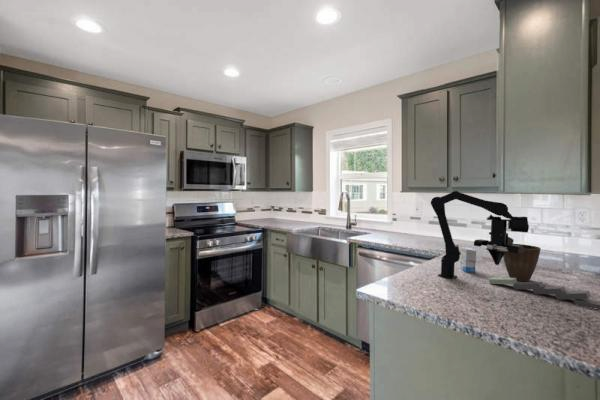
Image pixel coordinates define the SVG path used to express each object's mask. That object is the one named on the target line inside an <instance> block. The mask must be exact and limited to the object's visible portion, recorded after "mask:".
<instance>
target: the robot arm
mask: <svg viewBox="0 0 600 400" xmlns="http://www.w3.org/2000/svg"><path fill="white" fill-rule="evenodd" d="M455 200H457V201H460V202H463V203H466V204H470V205H473V206H476V207H479V208H482V209H483V210H486V211H488V212H489V213H492V214H494V216H493V215H492V214H489V216H488V217H486V220H487V221H490V222H491V223H490V224H491V225H490V232H488V235H489V236H490V240H488V239H479V238H478V239H475V240H473V246H475V247H480V248H481V247H482V246H485V247H486V248H485V250H486V251H488V253H489V254H490V255H491V258H492V260H493V262H494V264H495V266H499V265H500V263H501V261H502V258H503V256H504V254H505V253H506V252H513V253H524V252H525V248H524V247H523V246H521V245H513V244H514V239H513V238H512V237H509V232H507V230H510V232H516V233H517V232H518V233H528V232H529V229H530V228H529V227H530V225H529V221H528V217H527V216H513V215H512V214H511V213H510V212H509V208H508V205H507V204H505V203H503V202H499V201H498V202H497V201H490V200H485V199H482V198H478V197H475V196H472V195H469V194H465V193H462V192H459V191H457V190H454V191H451V192H450V193H448V194H446V195H443V196H435V197H433V198H432V199H431V200H430V205H431V207H432V208H433V209H432V210H433V211H434V213H435V215H436V216H437V220H438V223H439V228H440V231H441V234H442V237H443V240H444V247H445V254H444V255H443V256H442V257H441V259H440V262H441V264H440V266H441V267H440V273H439V274H437V276H438V277H442V278H447V279H450V280H451V279H454V278H457V277H458V275H455V263H457V262H459V261H460V257H461V250H460V248H459V244H456V243H455V242H454V239H453V236H452V232H451V229H450V226H449V222H448V218H447V215H446V206H445V205H446V204H447V203H450V202H452V201H455ZM502 217H503V218H502ZM504 218H506V219H504Z"/></svg>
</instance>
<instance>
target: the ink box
mask: <svg viewBox="0 0 600 400" xmlns="http://www.w3.org/2000/svg"><path fill="white" fill-rule="evenodd" d="M460 252H461V255H460V259H459V269H460V270H462V271H463V272H465V273H472V274H473V273H474V274H475V273H476V264H477V263H476V262H477V250H475V249H473V248H472V247H467V246H466V247H465V246H461V247H460Z"/></svg>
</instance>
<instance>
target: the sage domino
mask: <svg viewBox="0 0 600 400" xmlns="http://www.w3.org/2000/svg"><path fill="white" fill-rule="evenodd" d="M488 282H489V284H490V285H514V284H516V283H518V281H517V279H516V278H510V277H494V276H493V277H491V278H489V279H488Z"/></svg>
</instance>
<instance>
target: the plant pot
mask: <svg viewBox="0 0 600 400" xmlns="http://www.w3.org/2000/svg"><path fill="white" fill-rule="evenodd" d="M513 245H521V246H523V247H524V248H525V252H524V253H513V252H506V253H505V254H504V256H503V257H502V258H503V263H504V265H505V266H504V267H505V269H506V271H507V274H508V278H516V279H517V282H529V281H530V280H531V279H532V276H533V275H534V272H535V270H536V267H537V264H538V262H539V258H540V254H541V249H542V248H541V247H539V246H536V245H529V244H521V243H513Z"/></svg>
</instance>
